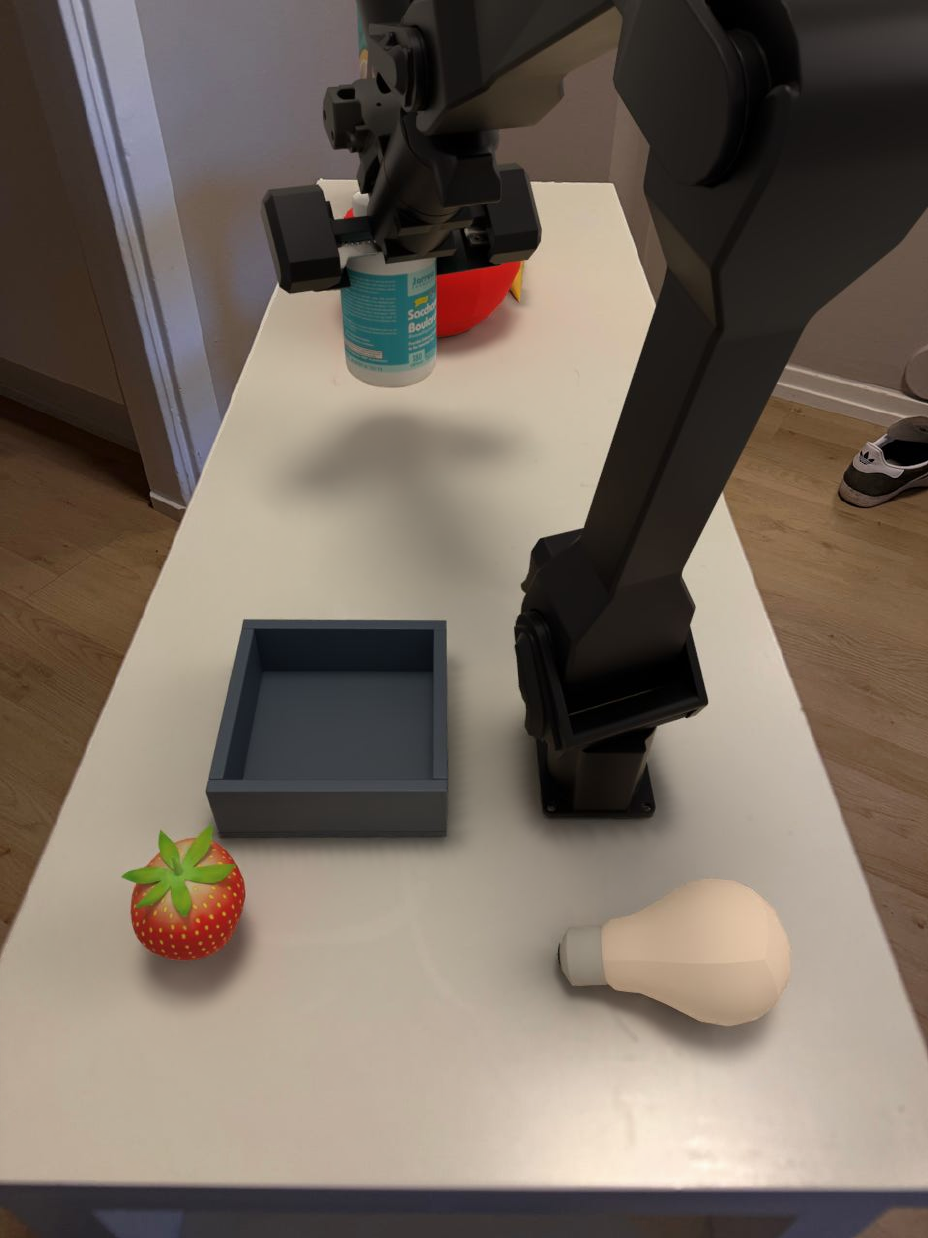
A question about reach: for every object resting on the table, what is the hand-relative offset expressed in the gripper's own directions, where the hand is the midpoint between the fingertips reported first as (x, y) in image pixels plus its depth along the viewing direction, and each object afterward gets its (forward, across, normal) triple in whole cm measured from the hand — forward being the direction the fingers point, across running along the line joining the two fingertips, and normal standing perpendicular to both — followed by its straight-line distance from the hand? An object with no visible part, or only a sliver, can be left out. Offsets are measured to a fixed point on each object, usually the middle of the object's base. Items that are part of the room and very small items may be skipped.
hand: (383, 276), depth 68 cm
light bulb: (-26, +2, +46) cm, 53 cm away
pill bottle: (+4, 0, +6) cm, 7 cm away
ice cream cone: (+30, -23, -11) cm, 39 cm away
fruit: (-19, +23, +39) cm, 49 cm away
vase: (+23, -11, -4) cm, 26 cm away
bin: (-13, +13, +32) cm, 37 cm away
